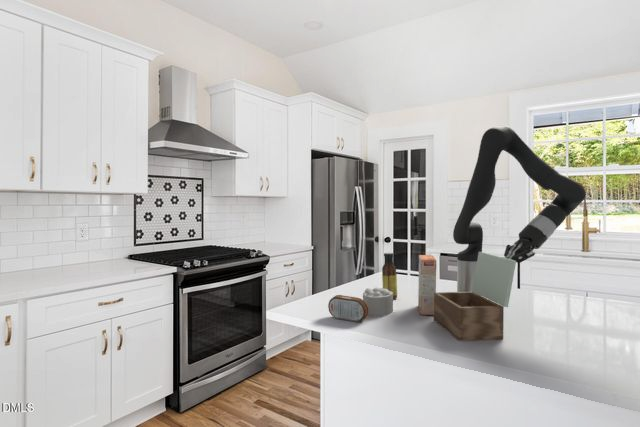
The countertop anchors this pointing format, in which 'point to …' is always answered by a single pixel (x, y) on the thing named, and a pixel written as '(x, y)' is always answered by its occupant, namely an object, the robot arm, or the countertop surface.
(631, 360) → the countertop surface
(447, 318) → the walnut box
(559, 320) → the countertop surface
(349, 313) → the tin
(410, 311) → the countertop surface
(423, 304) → the cracker box
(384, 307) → the lumpy-topped squat cylinder
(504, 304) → the box lid
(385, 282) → the sauce bottle
